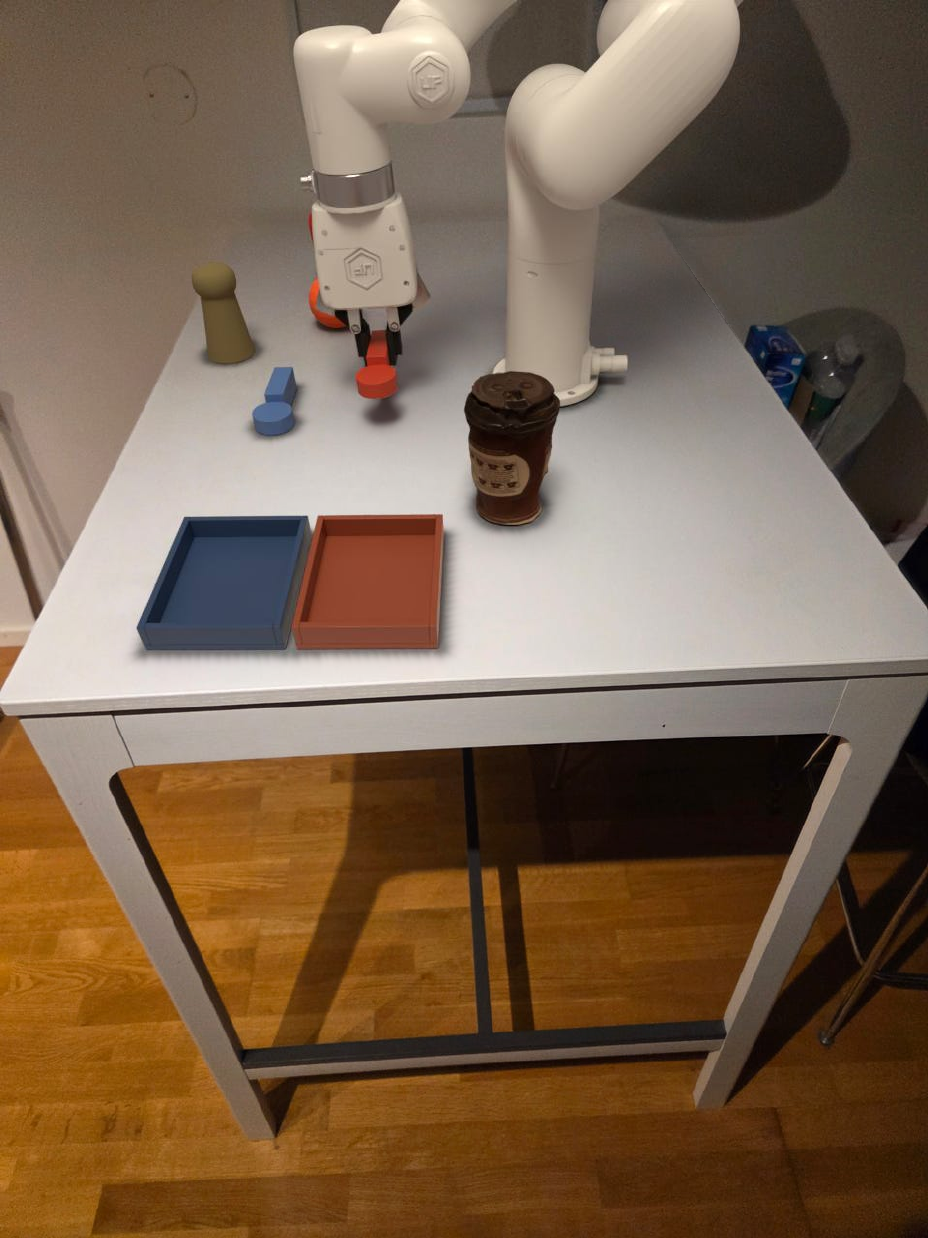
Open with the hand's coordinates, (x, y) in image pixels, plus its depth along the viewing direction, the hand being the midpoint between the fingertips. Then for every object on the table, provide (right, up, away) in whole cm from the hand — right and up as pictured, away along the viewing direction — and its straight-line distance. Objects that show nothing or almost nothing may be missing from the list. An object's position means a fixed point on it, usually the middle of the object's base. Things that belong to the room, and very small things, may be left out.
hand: (381, 359), depth 90 cm
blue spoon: (-12, -5, +2) cm, 13 cm away
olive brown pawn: (-21, +5, +13) cm, 25 cm away
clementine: (-8, +11, +18) cm, 22 cm away
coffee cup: (+14, -19, -12) cm, 26 cm away
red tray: (+2, -27, -20) cm, 34 cm away
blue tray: (-11, -27, -20) cm, 35 cm away
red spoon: (0, -2, -1) cm, 3 cm away
